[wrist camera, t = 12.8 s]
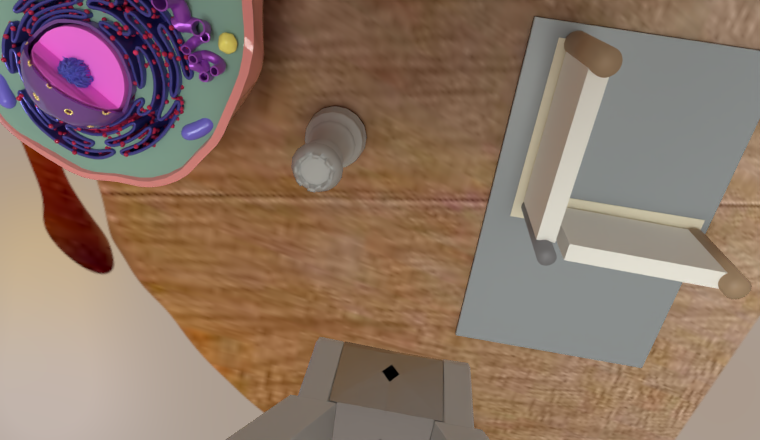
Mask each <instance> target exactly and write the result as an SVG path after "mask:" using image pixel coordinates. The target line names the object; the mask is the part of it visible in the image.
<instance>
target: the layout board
mask: <svg viewBox="0 0 760 440" xmlns="http://www.w3.org/2000/svg"><path fill="white" fill-rule="evenodd" d="M578 30H579V31H583V32H585V33H587V34H589V35H591V36H593V37H595V38H597V39H599V40H601V41H603V42H605V43H607V44H609V45H611V46H613V47H615V48H617V49H618V50H619V51H620V52H621V54H622V58H623V61H622V65H621V68H620V69H619V71H618V72H617V73H616V74H614V75H612V76H610V77H609V79H608V82H607V85H606V88H605V91H604V94H603V98H602V101H601V104H600V107H599V110H598V113H597V116H596V119H595V122H594V125H593V128H592V131H591V134H590V137H589V140H588V143H587V147H586V150H585V153H584V156H583V159H582V162H581V165H580V168H579V171H578V174H577V177H576V180H575V183H574V186H573V189H572V193H571V196H570V199H569V202H568V205H567V208H572V209H577V210H583V211H589V212H594V213H600V214H605V215H611V216H616V217H622V218H627V219H633V220H638V221H644V222H649V223H655V224H660V225H666V226H672V227H677V228H683V229H692V228H697V229H700V230H701V231H702V232H703V233H704V234H705V233H706V231H707V229H708V227H709V225H710V223H711V221H712V218H713V216H714V214H715V212H716V210H717V208H718V206H719V204H720V202H721V199H722V197H723V195H724V193H725V191H726V189H727V187H728V185H729V182H730V180H731V178H732V176H733V174H734V172H735V170H736V168H737V166H738V163H739V161H740V159H741V157H742V155H743V153H744V151H745V149H746V146H747V144H748V142H749V140H750V138H751V136H752V134H753V132H754V130H755V127H756V125H757V123H758V121H759V119H760V50H754V49H747V48H741V47H734V46H727V45H721V44H714V43H707V42H701V41H694V40H688V39H681V38H674V37H668V36H661V35H654V34H648V33H641V32H635V31H628V30H621V29H615V28H608V27H602V26H595V25H588V24H582V23H575V22H568V21H562V20H555V19H549V18H542V17H535V16H534V19H533V24H532V28H531V32H530V36H529V40H528V44H527V48H526V52H525V56H524V60H523V64H522V68H521V72H520V76H519V80H518V84H517V88H516V92H515V96H514V100H513V104H512V108H511V112H510V116H509V120H508V124H507V128H506V132H505V136H504V140H503V144H502V148H501V152H500V156H499V160H498V164H497V168H496V172H495V176H494V180H493V184H492V188H491V192H490V196H489V200H488V204H487V208H486V212H485V216H484V220H483V224H482V228H481V232H480V236H479V240H478V244H477V248H476V252H475V256H474V260H473V264H472V268H471V272H470V276H469V280H468V284H467V288H466V293H465V297H464V301H463V305H462V309H461V313H460V317H459V321H458V325H457V329H456V335H458V336H464V337H469V338H475V339H481V340H486V341H492V342H498V343H503V344H509V345H515V346H520V347H526V348H532V349H537V350H543V351H549V352H554V353H560V354H565V355H571V356H577V357H582V358H588V359H594V360H599V361H605V362H611V363H616V364H622V365H628V366H633V367H639V368H642V367H643V365H644V362H645V360H646V358H647V356H648V354H649V352H650V350H651V348H652V345H653V343H654V341H655V339H656V337H657V335H658V333H659V331H660V329H661V326H662V324H663V322H664V320H665V318H666V316H667V314H668V312H669V309H670V307H671V305H672V303H673V301H674V299H675V297H676V295H677V293H678V290H679V288H680V286H681V284H682V282H680V281H675V280H669V279H664V278H658V277H653V276H647V275H642V274H637V273H631V272H626V271H620V270H615V269H609V268H604V267H598V266H593V265H588V264H582V263H577V262H571V261H566V260H564V259H563V256H562V254H561V251H560V249H559V246H558V244H557V241H556V242H555V243H553V242H552V244H553V247H554V249H555V252H556V255H557V259H556V261H555V262H554V263H553V264H551V265H548V266H544V265H541V264H540V263H539V262H538V261H537V258H536V255H535V251H534V248H533V245H532V242H531V238H530V235H529V232H528V229H527V225H526V222H525V219H524V216H523V212H522V209H521V206H522V203H523V202H524V198H525V195H526V191H527V188H528V184H529V181H530V177H531V174H532V170H533V167H534V163H535V160H536V156H537V153H538V149H539V145H540V142H541V138H542V135H543V131H544V128H545V124H546V121H547V117H548V114H549V110H550V107H551V103H552V100H553V96H554V93H555V89H556V85H557V82H558V78H559V75H560V71H561V68H562V64H563V61H564V57H565V54H566V51H565V49H564V42H565V39H566V37H567V36H568V35H569V34H570V33H571V32H573V31H578Z"/></svg>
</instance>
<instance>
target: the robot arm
mask: <svg viewBox="0 0 760 440" xmlns="http://www.w3.org/2000/svg"><path fill="white" fill-rule="evenodd" d="M226 440H489V438H488V437H487V436H486V434H485V433H484V432H483V431H482V430H480V429H475V428H474V419H473V404H472V389H471V373H470V366H469V364H468V363H464V362H458V361H451V360H445V359H443V360H441V359H435V358H430V357H424V356H418V355H412V354H406V353H400V352H395V351H390V350H385V349H380V348H375V347H370V346H365V345H360V344H355V343H350V342H345V343H344V342H343V341H338V340H333V339H328V338H323V337H320V338H319V339H318V340H317V342H316V345H315V348H314V351H313V354H312V357H311V359H310V362H309V365H308V368H307V371H306V374H305V377H304V380H303V383H302V386H301V389H300V392H299V395H298V396H295V395H290V396H288V397H287V398H285V399H284V400H282V401H281V402H279V403H278V404H276V405H275V406H274V407H272V408H271V409H269V410H268V411H266V412H265V413H263V414H262V415H261V416H259V417H258V418H256V419H255V420H253V421H252V422H250V423H249V424H248V425H246V426H245V427H243V428H242V429H240V430H239V431H237V432H236V433H234V434H233V435H232V436H230V437H229V438H227V439H226Z"/></svg>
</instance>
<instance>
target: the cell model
mask: <svg viewBox="0 0 760 440" xmlns="http://www.w3.org/2000/svg"><path fill="white" fill-rule="evenodd" d="M263 2H264V0H0V122H1V124H2V125H4V127H5V128H7V130H8V131H9V132H11V133H12V134H13V135H14V136H16V137H17V138H18V139H19V140H21V141H22V142H23V143H25V144H26V145H28V146H29V147H31V148H32V149H34V150H35V151H37V152H38V153H40V154H41V155H43V156H45V157H46V158H48V159H50V160H51V161H53V162H55V163H56V164H58V165H59V166H61V167H63V168H64V169H66V170H68V171H70V172H72V173H74V174H77V175H79V176H81V177H84V178H89V179H94V180H104V181H115V182H121V183H125V184H130V185H135V186H140V187H157V186H162V185H167V184H170V183H173V182H175V181H178V180H179V179H181V178H183V177H185V176H186V175H188V174H189V173H190V172H191V171H192V170H193V169H194V168H195V167H196V166H197V165H198V164H199V162H200V161H201V160H202V159H203V158H204V157H205V156H206V155H207V154H208V153H209V152H210V151H211V150H212V149H213V148H214V147H215V146H216V145H217V144H218V142H219V141H220V139H221V137H222V136H223V134H224V132H225V130H226V127H227V125H228V124H229V122H230V121H231V120H232V118H233V117H234V116H235V114H236V113H237V111H238V110H239V108H240V107H241V105H242V104H243V102H244V101H245V99H246V98H247V96H248V95H249V93H250V92H251V90H252V89H253V87H254V86H255V84H256V83H257V81H258V79H259V77H260V75H261V72H262V68H263V61H264V36H263Z"/></svg>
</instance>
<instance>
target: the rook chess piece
mask: <svg viewBox="0 0 760 440" xmlns="http://www.w3.org/2000/svg"><path fill="white" fill-rule="evenodd" d="M366 138H367V137H366V132H365V128H364V125H363V123H362V122H361V120H360V119H359V118H358V116H357V115H355V114H354V113H353V112H351V111H350V110H348V109H346V108H341V107H337V106H333V107H328V108H323V109H322V110H320V111H319V112H317V113H316V114H314V116H313V117H312V119H311V120H310V122H309V124H308V126H307V128H306V134H305V143H306V144H305V145H303V146H302V147H300V148H299V149H297V151H296V152H295V154H294V156H293V157H292V165H291V167H292V171H293V174H294V177H295V178H296V181H297V183H298V184H299V185H300V186H301V185H302V186H304V187H305V188H307V189H308V190H307V191H311V192H315V191H317V192H321V191H327V190H330V189H331V188H333V187H335V186H336V185H337V184H338V182H339V181H340V179H341V178H342V172H343V167H347V166H348V165H350V164H351V163H353V162H355V161H356V160H357V158H358V157H359V156H360V154H361V153H362V151H363V150H364V148H365V143H366Z"/></svg>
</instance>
